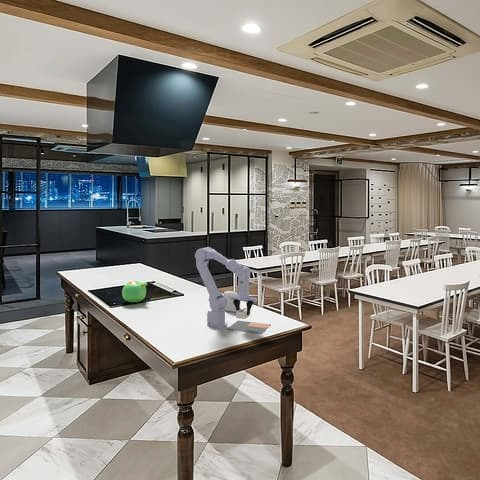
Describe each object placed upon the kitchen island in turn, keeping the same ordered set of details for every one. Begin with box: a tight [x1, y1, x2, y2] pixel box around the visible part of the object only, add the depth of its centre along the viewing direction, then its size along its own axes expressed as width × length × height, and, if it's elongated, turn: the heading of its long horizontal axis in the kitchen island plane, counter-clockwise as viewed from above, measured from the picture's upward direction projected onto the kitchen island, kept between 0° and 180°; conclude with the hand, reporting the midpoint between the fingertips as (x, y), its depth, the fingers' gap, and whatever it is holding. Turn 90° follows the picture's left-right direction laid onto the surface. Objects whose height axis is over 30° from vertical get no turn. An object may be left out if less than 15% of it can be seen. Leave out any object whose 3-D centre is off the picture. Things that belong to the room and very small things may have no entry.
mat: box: [226, 320, 272, 335], centre depth 218 cm, size 20×17×1 cm
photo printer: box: [222, 290, 238, 313], centre depth 250 cm, size 10×4×12 cm, turn 61°
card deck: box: [235, 307, 251, 320], centre depth 214 cm, size 5×8×4 cm, turn 159°
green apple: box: [121, 280, 148, 304], centre depth 270 cm, size 18×17×15 cm
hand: (243, 314), depth 214 cm, fingers closed on card deck, 5 cm apart
